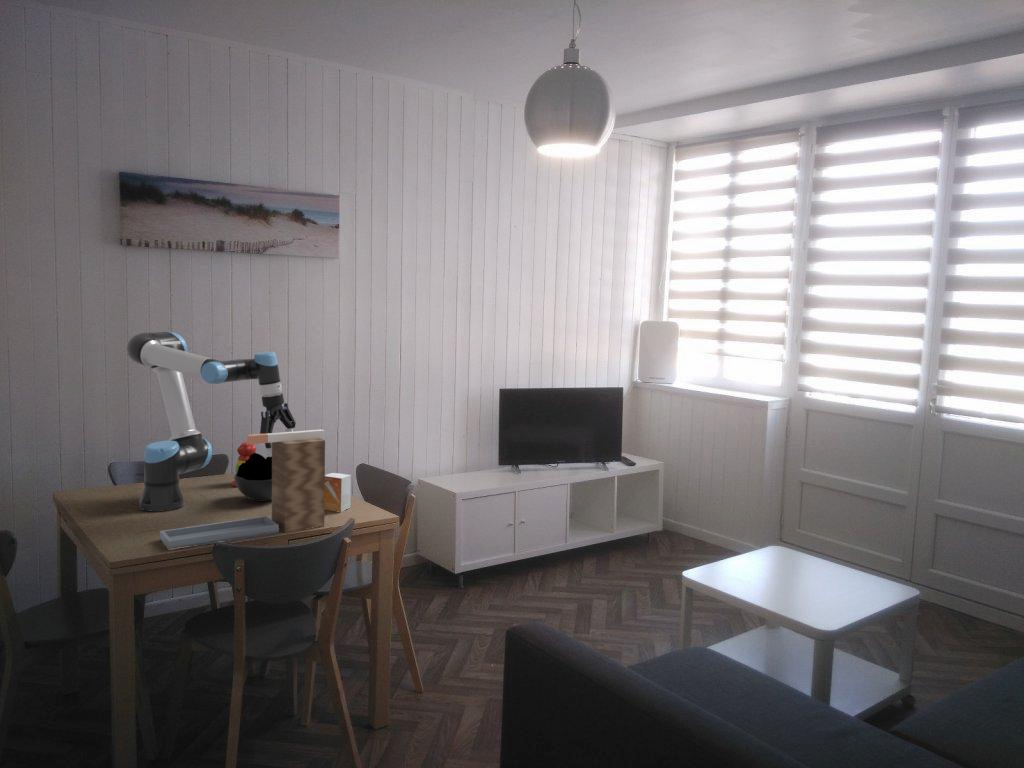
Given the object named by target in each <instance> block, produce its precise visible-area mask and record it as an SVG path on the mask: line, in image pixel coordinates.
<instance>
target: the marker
mask: <svg viewBox="0 0 1024 768" xmlns="http://www.w3.org/2000/svg"><path fill="white" fill-rule="evenodd" d="M318 438H320V439H325V438H326V430H324V429H322V428H321V429H307V430H297V431H295V430H293V432H286V431H284V432H283V431H282V432H272V433H268V434H265V433H264V434H260V433H253V434H247V435H246V442H247V443H248V444H254V445H257V444H258V445H259V444H265V443H271V442H282V441H294V440H306V439H318Z"/></svg>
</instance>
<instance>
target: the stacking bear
mask: <svg viewBox="0 0 1024 768" xmlns="http://www.w3.org/2000/svg"><path fill="white" fill-rule="evenodd" d="M256 450H257V447H256V444H248V443H247V441H245V442H242V443H241V444H240V446H238V447H237V448H236V451H237V453H238V454H239V456H238V457H237V460H236V465H235V474H237V472H238V469H239V466H240V465H241V464H242V463H245V461H246V460H248V459H249V457H250V455H252V454H253V453H256V452H257V451H256ZM230 486H231V487H233V486H237V485H236V483H235V480H233V481H232V482H231V483H230Z"/></svg>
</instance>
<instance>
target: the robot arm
mask: <svg viewBox="0 0 1024 768" xmlns="http://www.w3.org/2000/svg"><path fill="white" fill-rule="evenodd" d="M126 353H127V356H128V357H129V359H130V360H131V361H132V362H134V363H136V364H138V365H143V366H146V367H150V368H151V371H152V372H154V373H156V374H157V378H158V382H159V386H160V391H161V395H162V398H163V399H162V400H163V403H164V408H165V411H166V417H167V420H168V425H169V429H170V433H171V436H170V438H169V439H167V440H162V441H155V442H151V443H149V444H148V445H146V446H145V448H144V450H143V457H142V460H143V484H144V485H143V489H142V492H141V496H140V498H139V501H138V508H139V507H140V508H141V509H144V510H152V511H151V512H162V511H161V510H168V511H172V510H171V509H174V510H176V509H175V508H178V509H180V508H179V507H181V508H182V506H183V505H184V506H185V497H184V495H183V492H182V489H181V486H180V475H181V474H186V473H189V472H190V473H191V472H192V471H193V472H194V471H199V470H200V469H202V468H205V467H206V466H207V465H208V464H210V461H211V460H212V457H213V448H212V445H211V443H210V441H208V440H207V439H206V438H203V435H202V432H201V431H200V430H197V428H196V424H195V420H194V416H193V412H192V408H191V404H190V400H189V396H188V392H187V388H186V384H185V380H184V375H183V374H186V375H188V376H189V375H190V376H194V377H197V378H200V379H203V380H204V381H205V383H207V384H211V385H213V384H214V385H218V384H224V383H229V382H231V383H232V382H237V381H238V382H239V381H247V380H248V381H249V380H250V381H251V380H257V381H258V385H259V391H260V395H261V402H262V407H264V408H265V409H266V411H260V416H261V420H260V431H259V434H264V433H265V434H268V433H273V431H274V426H275V423H276V422H277V421H278V420H279V421H280V422H281V424H283V425H284V427H285V429H284V432H294V429H295V428H296V424H297V423H296V420H295V418H294V417H293V414H292V413H291V410H290V409H289V404H288V403H287V402H285V397H284V393H282V392H283V386H282V383H281V382H282V381H281V377H280V370H279V369H280V368H279V361H278V359H277V354H276V352H274V351H271V350H270V351H269V350H268V351H262V352H257V353H255V354H254V358H245V359H244V358H243V359H242V358H239V359H232V360H231V359H230V360H219V359H213V358H211V357H207V356H204V355H200V354H195V353H191V352H188V346H187V342H186V341H185V339H184V338H183V336H181V335H179V334H178V333H176V332H174V331H173V332H171V331H170V332H169V331H159V332H158V331H157V332H155V331H154V332H140V333H137V334H134V335H132V337H130V339H129V340H128V342H127V344H126ZM264 445H265V450H266V457H272V442H271V443H264ZM184 506H183V507H184ZM140 508H139V509H140ZM141 509H140V510H141ZM144 510H143V511H144Z"/></svg>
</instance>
